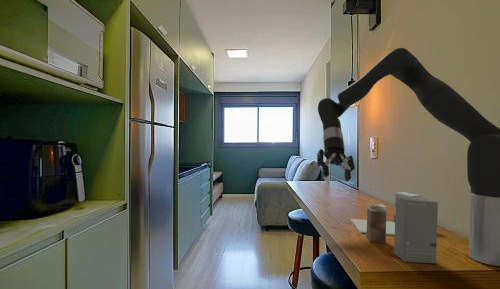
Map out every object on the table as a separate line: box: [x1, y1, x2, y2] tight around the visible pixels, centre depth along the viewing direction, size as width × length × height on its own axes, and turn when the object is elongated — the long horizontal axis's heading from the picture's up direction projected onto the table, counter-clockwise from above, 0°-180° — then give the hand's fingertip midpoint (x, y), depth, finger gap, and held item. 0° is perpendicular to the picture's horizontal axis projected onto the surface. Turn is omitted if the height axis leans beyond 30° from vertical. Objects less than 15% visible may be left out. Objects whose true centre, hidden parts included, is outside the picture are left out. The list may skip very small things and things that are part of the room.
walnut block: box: [366, 202, 388, 244], centre depth 94 cm, size 4×4×11 cm
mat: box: [349, 218, 395, 237], centre depth 109 cm, size 16×18×1 cm
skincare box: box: [393, 197, 439, 264], centre depth 79 cm, size 8×7×16 cm
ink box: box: [393, 191, 422, 223], centre depth 116 cm, size 8×5×12 cm, turn 17°
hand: (337, 178), depth 110 cm, fingers open, 8 cm apart
